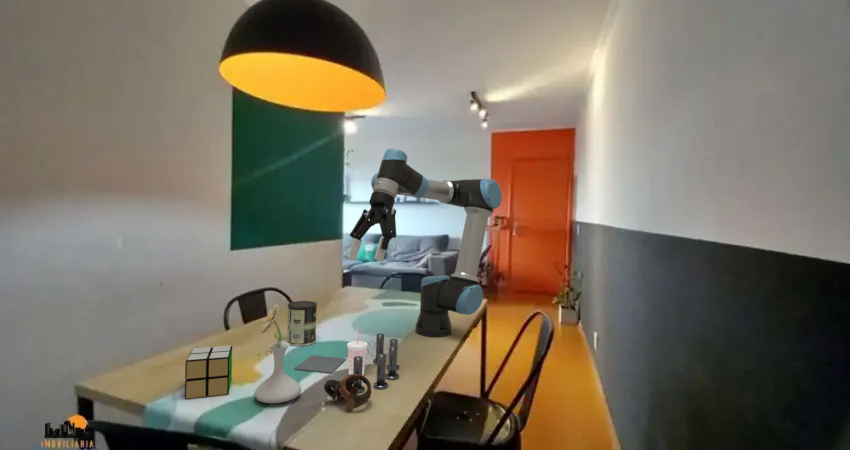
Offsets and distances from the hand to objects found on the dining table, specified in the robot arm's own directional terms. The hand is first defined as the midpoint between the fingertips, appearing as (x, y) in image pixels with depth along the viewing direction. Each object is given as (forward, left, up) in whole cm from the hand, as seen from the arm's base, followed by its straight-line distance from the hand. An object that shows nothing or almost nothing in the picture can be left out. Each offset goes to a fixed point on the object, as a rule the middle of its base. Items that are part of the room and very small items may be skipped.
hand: (364, 259), depth 124 cm
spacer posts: (0, +6, -34) cm, 35 cm away
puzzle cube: (+20, -35, -35) cm, 53 cm away
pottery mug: (+19, +3, -35) cm, 40 cm away
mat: (-4, -14, -34) cm, 37 cm away
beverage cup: (0, -1, -35) cm, 35 cm away
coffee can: (-23, -30, -35) cm, 51 cm away
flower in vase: (+21, -15, -35) cm, 43 cm away
